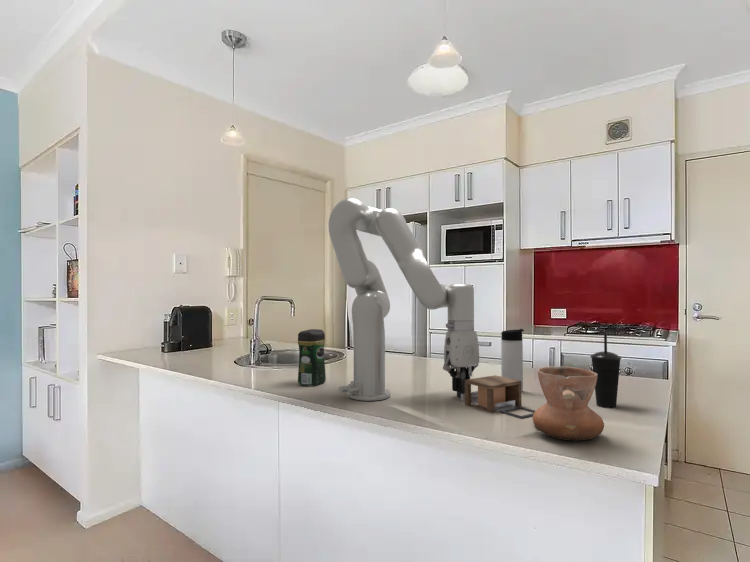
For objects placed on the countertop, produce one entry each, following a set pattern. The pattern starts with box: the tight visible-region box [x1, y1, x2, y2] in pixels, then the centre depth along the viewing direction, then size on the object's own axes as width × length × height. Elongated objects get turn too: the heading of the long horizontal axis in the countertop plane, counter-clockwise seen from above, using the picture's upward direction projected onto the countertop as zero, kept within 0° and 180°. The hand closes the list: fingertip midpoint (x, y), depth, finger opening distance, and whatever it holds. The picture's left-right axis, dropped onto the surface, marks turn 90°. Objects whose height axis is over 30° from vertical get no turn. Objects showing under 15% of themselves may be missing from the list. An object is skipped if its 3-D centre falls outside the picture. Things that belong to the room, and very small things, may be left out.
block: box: [477, 386, 505, 408], centre depth 120 cm, size 5×5×5 cm
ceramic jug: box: [532, 365, 605, 441], centre depth 100 cm, size 18×14×14 cm
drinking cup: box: [589, 332, 622, 409], centre depth 124 cm, size 8×8×20 cm
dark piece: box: [499, 406, 536, 420], centre depth 112 cm, size 8×7×2 cm
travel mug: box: [500, 328, 524, 393], centre depth 138 cm, size 6×7×20 cm
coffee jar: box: [297, 328, 327, 387], centre depth 154 cm, size 10×8×19 cm
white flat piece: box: [456, 367, 516, 412], centre depth 123 cm, size 7×18×10 cm, turn 33°
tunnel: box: [464, 374, 523, 414], centre depth 119 cm, size 12×9×8 cm
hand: (461, 390), depth 129 cm, fingers closed on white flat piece, 2 cm apart
